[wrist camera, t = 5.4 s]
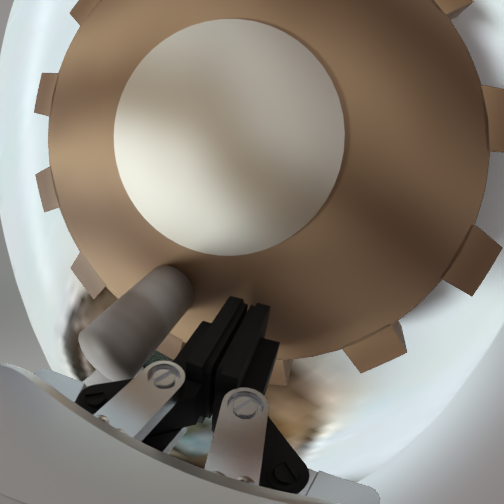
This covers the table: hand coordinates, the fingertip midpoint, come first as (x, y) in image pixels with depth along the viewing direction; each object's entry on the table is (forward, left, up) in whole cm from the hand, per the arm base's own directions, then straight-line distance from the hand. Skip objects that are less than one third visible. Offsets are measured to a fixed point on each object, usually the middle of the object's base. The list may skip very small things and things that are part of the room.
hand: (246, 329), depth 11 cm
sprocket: (+8, 0, -3) cm, 8 cm away
